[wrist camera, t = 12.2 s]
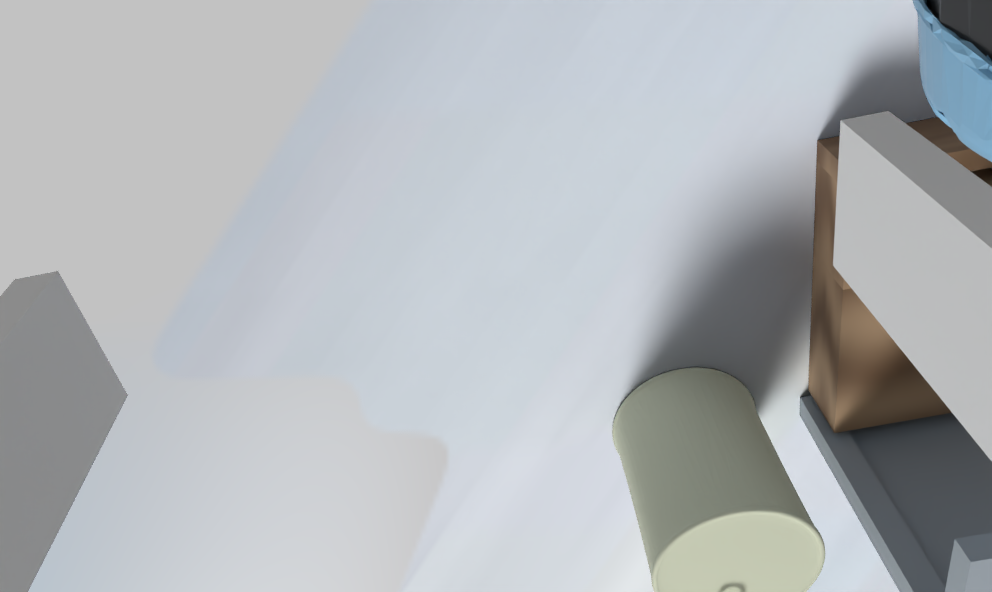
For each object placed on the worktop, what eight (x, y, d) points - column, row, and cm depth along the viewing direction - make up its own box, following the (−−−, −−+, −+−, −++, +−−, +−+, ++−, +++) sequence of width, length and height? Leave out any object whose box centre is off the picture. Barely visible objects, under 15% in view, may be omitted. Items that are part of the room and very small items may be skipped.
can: (605, 476, 54) (642, 636, 44) (620, 367, 49) (666, 519, 39) (739, 473, 55) (807, 630, 45) (768, 365, 50) (851, 514, 40)
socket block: (817, 140, 42) (850, 171, 38) (1092, 87, 41) (1150, 114, 38) (808, 389, 51) (834, 433, 48) (1033, 350, 50) (1075, 391, 47)
